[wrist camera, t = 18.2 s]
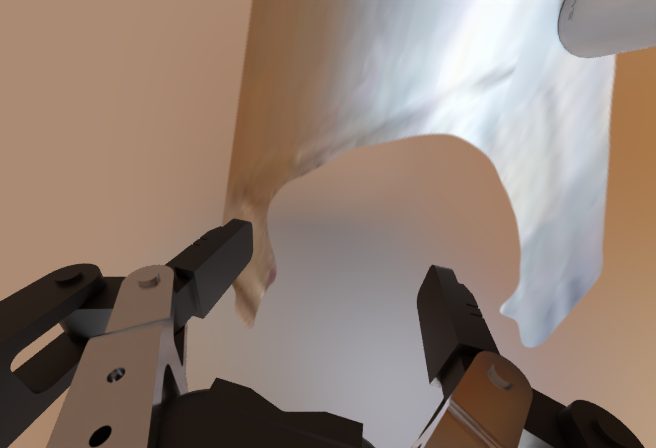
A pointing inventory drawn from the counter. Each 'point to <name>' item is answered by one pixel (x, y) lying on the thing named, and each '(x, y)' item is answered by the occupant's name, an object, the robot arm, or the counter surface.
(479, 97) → the counter surface
